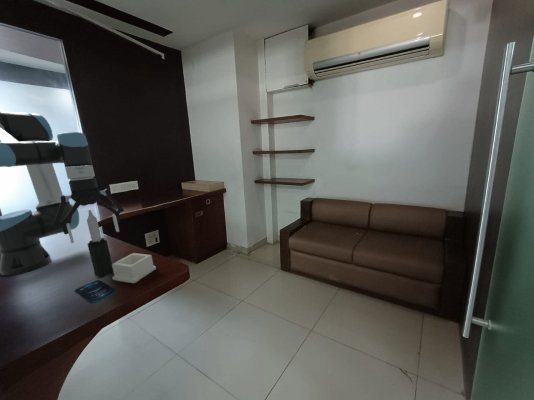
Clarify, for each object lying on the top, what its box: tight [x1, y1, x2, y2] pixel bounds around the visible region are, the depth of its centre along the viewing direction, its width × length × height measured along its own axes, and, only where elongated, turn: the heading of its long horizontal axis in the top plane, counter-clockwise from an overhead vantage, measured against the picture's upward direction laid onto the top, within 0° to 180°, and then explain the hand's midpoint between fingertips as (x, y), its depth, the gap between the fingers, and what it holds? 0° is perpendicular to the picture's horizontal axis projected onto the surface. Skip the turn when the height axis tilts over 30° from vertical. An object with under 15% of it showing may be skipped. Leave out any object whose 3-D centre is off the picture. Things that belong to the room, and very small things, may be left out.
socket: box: [111, 252, 157, 284], centre depth 86 cm, size 10×10×6 cm
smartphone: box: [74, 279, 118, 305], centre depth 78 cm, size 8×1×15 cm
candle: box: [86, 209, 114, 278], centre depth 86 cm, size 5×5×25 cm
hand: (96, 236), depth 86 cm, fingers open, 13 cm apart
